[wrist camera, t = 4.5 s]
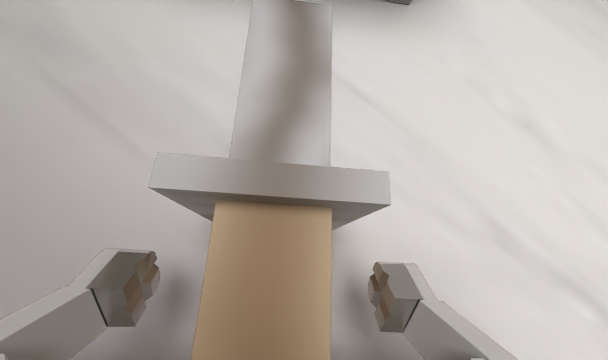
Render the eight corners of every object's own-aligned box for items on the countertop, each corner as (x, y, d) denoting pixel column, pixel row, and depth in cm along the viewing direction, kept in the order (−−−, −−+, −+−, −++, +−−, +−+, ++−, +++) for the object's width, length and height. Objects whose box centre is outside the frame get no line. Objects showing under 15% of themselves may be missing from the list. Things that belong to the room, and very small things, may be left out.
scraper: (204, 309, 13) (97, 392, 5) (250, 6, 19) (234, -159, 11) (329, 312, 13) (403, 391, 6) (333, 18, 20) (369, -131, 12)
